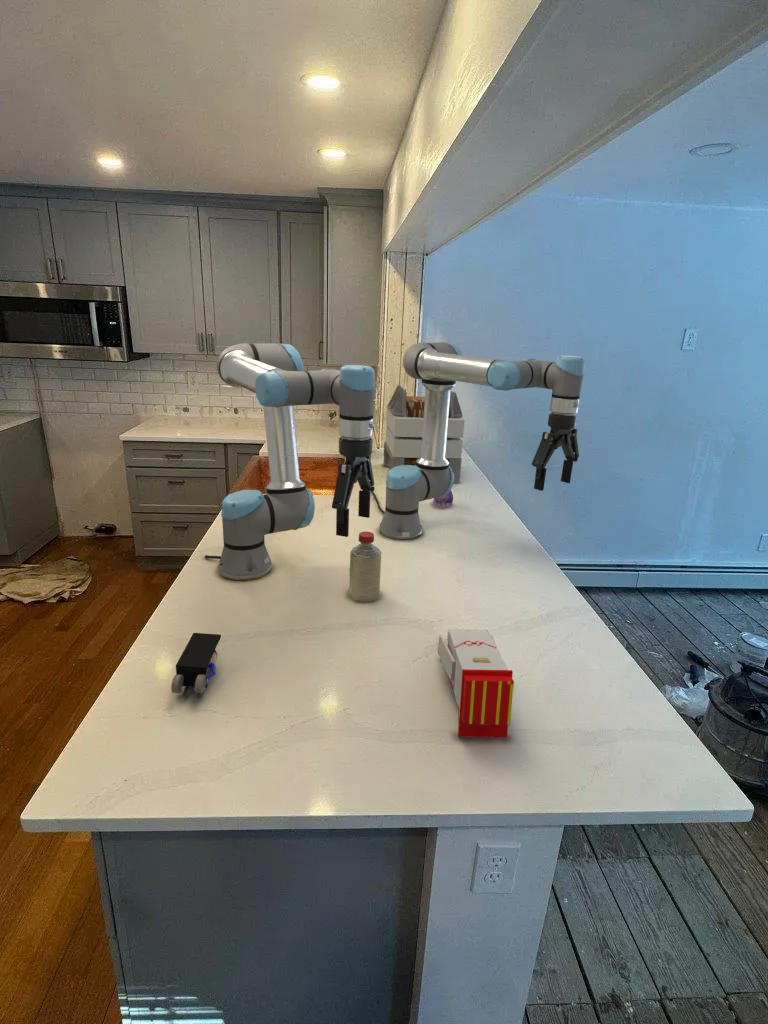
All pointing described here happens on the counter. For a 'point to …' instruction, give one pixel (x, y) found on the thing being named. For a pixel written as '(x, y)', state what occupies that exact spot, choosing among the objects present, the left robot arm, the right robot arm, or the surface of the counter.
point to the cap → (366, 537)
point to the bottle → (365, 573)
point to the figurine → (443, 500)
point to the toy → (478, 682)
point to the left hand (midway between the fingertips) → (353, 525)
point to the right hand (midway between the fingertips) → (552, 485)
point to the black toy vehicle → (196, 663)
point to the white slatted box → (419, 431)
